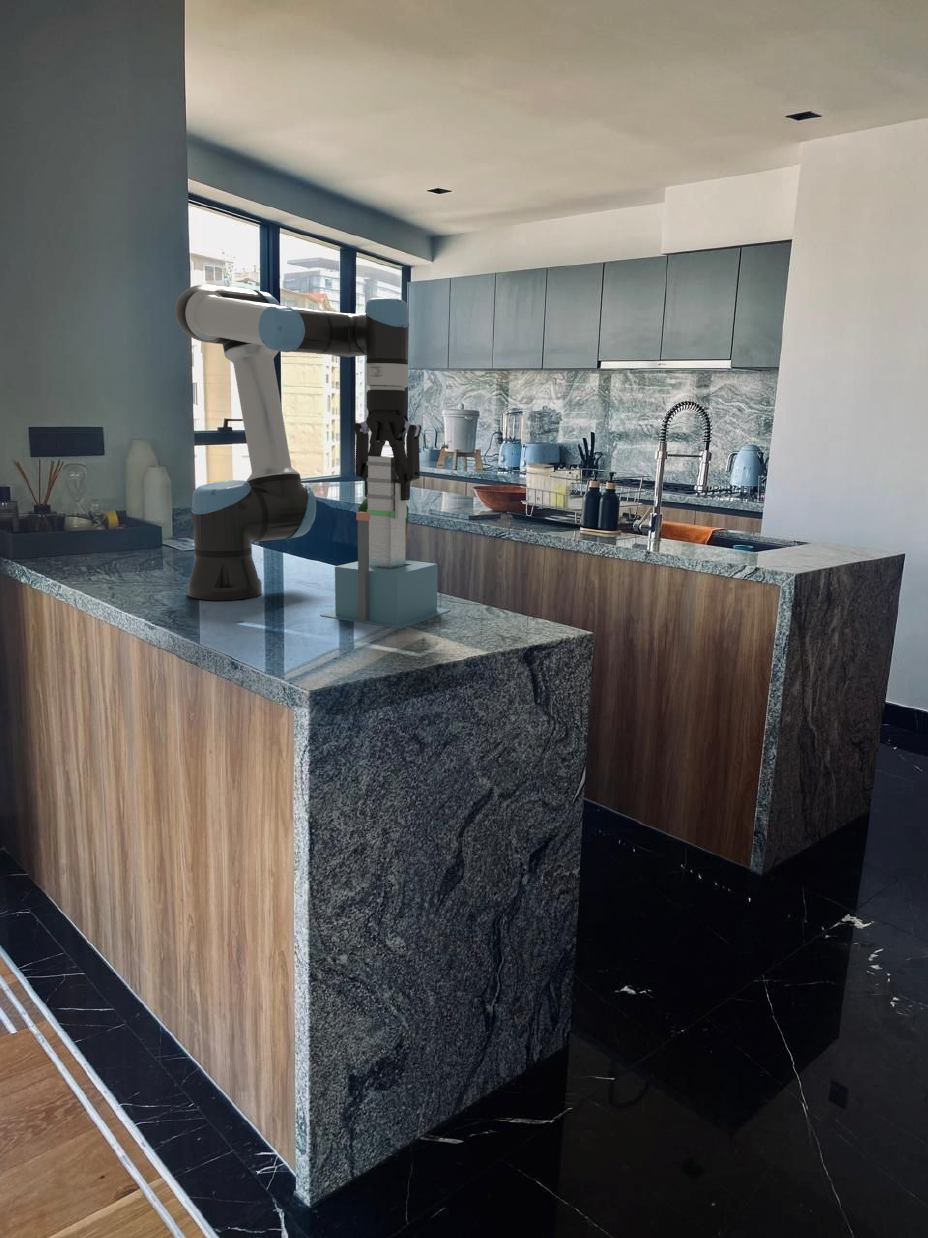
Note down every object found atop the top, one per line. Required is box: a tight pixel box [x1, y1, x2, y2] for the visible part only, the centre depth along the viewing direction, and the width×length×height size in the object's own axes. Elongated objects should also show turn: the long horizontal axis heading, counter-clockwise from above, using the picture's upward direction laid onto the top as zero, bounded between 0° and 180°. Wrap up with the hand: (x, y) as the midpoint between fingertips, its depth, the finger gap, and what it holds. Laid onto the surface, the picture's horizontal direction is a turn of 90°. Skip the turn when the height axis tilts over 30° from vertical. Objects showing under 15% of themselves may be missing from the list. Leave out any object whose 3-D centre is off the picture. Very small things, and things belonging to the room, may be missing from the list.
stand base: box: [320, 511, 452, 630], centre depth 166 cm, size 18×18×21 cm
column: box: [367, 454, 407, 570], centre depth 164 cm, size 5×5×22 cm
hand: (387, 516), depth 164 cm, fingers closed on column, 5 cm apart
